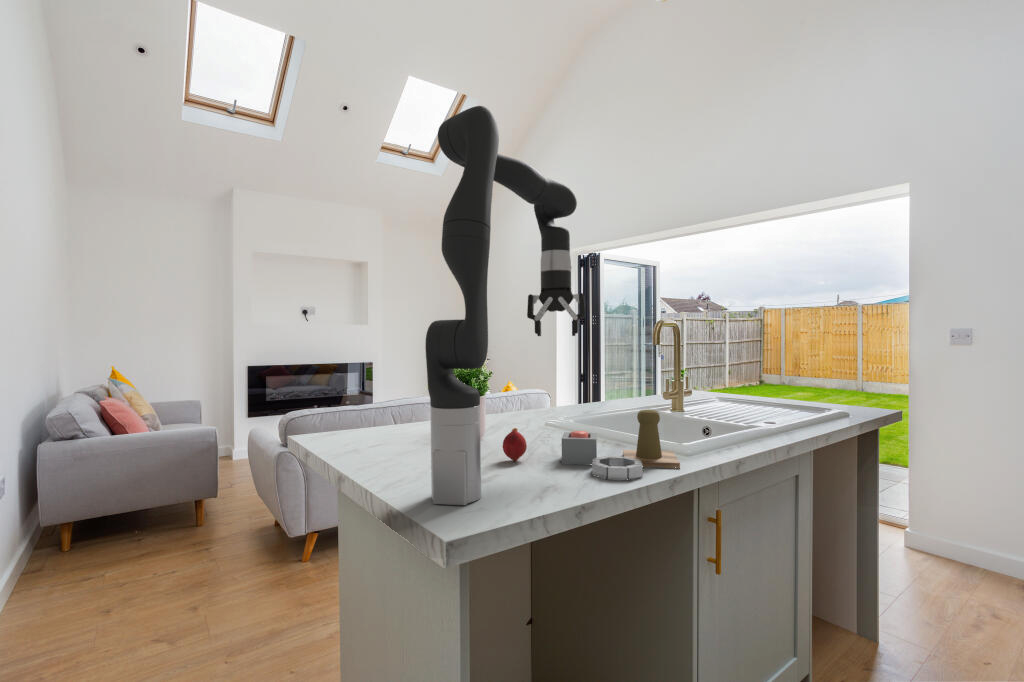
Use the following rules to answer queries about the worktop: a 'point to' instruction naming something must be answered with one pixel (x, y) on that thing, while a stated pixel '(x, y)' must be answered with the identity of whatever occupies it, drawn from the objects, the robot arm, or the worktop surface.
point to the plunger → (579, 434)
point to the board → (665, 462)
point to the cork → (648, 435)
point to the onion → (514, 445)
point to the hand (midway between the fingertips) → (556, 336)
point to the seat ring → (617, 467)
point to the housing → (579, 449)
